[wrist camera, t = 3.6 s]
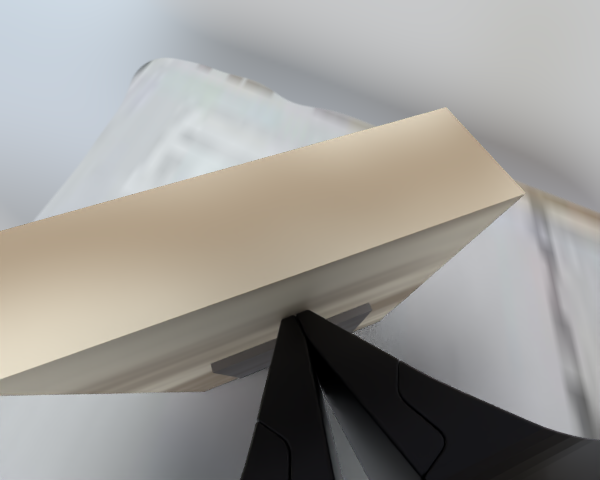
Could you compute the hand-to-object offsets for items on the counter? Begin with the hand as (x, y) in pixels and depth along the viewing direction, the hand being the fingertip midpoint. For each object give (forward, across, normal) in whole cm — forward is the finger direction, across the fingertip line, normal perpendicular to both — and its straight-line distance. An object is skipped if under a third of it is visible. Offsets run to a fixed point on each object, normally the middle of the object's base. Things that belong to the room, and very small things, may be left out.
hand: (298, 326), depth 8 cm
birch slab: (+8, 0, +6) cm, 10 cm away
